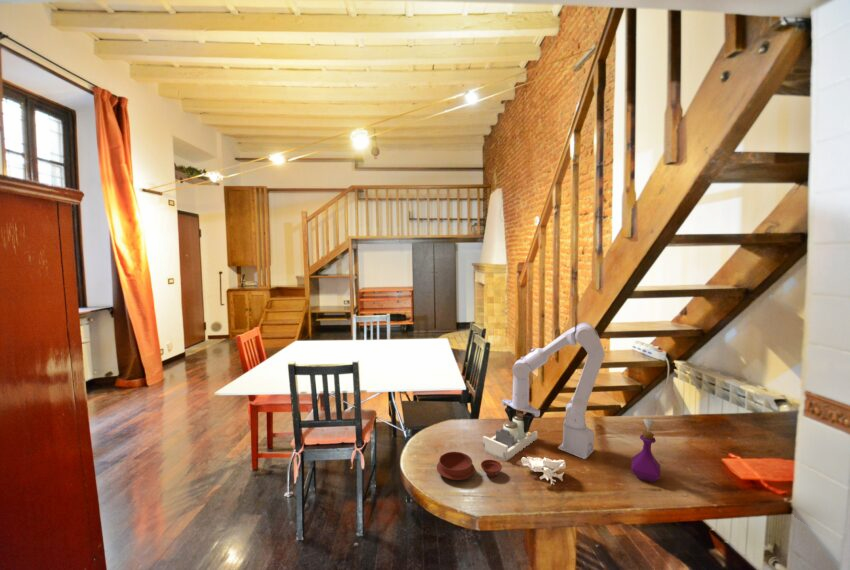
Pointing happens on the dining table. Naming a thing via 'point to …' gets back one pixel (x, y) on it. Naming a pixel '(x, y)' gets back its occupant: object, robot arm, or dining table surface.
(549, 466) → the white irregular branching piece
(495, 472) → the pottery
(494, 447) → the tray
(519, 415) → the jar
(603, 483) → the dining table surface
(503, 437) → the pusher
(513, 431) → the stocked jar
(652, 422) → the perfume bottle
